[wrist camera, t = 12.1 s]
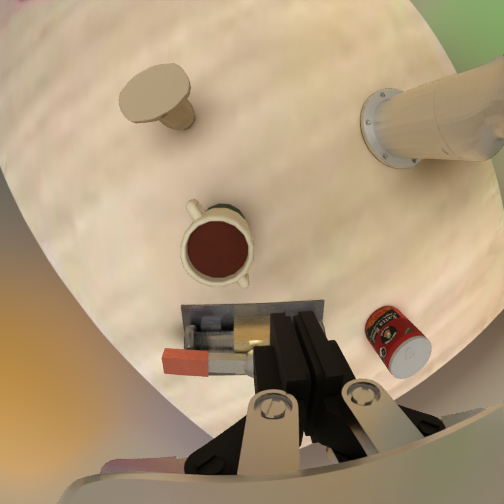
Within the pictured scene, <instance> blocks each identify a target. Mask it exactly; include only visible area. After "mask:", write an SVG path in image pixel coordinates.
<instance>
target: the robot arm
mask: <svg viewBox="0 0 504 504" xmlns="http://www.w3.org/2000/svg"><path fill="white" fill-rule="evenodd" d="M380 95H381V96H380ZM365 122H366V123H367V124H366V123H365ZM361 129H362V134H363V137H364V140H365V142H366V144H367V146H368V148H369V149H370V151H371V152H372V154H373V155H374V156H375V157H376V158H377V159H378V160H379V161H381V162H382V163H384V164H385V165H388V166H390V167H393V168H400V169H405V168H410V167H413V166H415V165H417V164H418V163H420V161H421V160H422V159H448V160H466V161H484V160H488V159H490V158H492V157H493V156H494V155H496V154H497V153H498V152H499V151H500V150H501V148H502V147H503V146H504V54H503V55H501V56H499V57H498V58H495V59H493V60H491V61H490V62H487V63H485V64H483V65H481V66H478V67H476V68H473V69H471V70H468V71H465V72H462V73H459V74H456V75H453V76H450V77H446V78H443V79H440V80H437V81H434V82H431V83H428V84H425V85H422V86H420V87H417V88H414V89H411V90H408V91H406V92H403V91H400V90H397V89H391V88H389V89H383V90H380V91H377V92H376V93H374V94H372V95H371V96H370V97H369V98H368V99H367V101H366V102H365V104H364V106H363V109H362V113H361ZM253 371H254V386H255V395H254V396H253V397H252V398H251V399H250V402H249V405H248V411H247V415H246V416H245V417H243V418H242V419H241V420H239V421H238V422H237V423H235V424H234V425H232V426H231V427H230V428H228V429H227V430H226V431H224V432H223V433H221V434H220V435H219V436H217V437H216V438H214V439H213V440H211V441H210V442H208V443H207V444H206V445H204V446H203V447H201V448H199V449H198V450H196V451H195V452H193V453H192V454H191V455H190V456H189V457H188V458H182V459H177V458H176V456H174V457H162V458H145V459H116V460H111V461H109V462H107V463H106V464H105V465H104V466H103V467H102V468H101V472H100V474H95V475H92V476H87V477H83V478H81V479H78V480H76V481H75V482H73V483H72V484H71V485H70V486H69V487H68V488H67V489H66V490H65V492H64V493H63V495H62V496H61V498H60V500H59V501H58V503H57V504H504V402H502V403H500V404H497V405H494V406H492V407H490V408H488V409H483V408H480V409H475V410H470V411H466V412H461V413H456V414H451V415H446V416H441V418H440V419H438V418H437V417H434V416H432V415H429V414H425V413H422V412H419V411H416V410H412V409H410V408H406V407H403V406H400V405H397V404H396V403H395V401H394V400H393V399H392V398H391V397H390V395H389V394H388V393H387V392H386V391H385V389H384V388H383V387H382V386H381V385H380V384H378V383H377V382H375V381H373V380H369V379H356V378H355V376H354V374H353V372H352V370H351V368H350V367H349V365H348V363H347V361H346V359H345V357H344V355H343V353H342V351H341V350H340V348H339V346H338V344H337V342H336V341H335V340H329V341H328V340H327V338H326V336H325V334H324V332H323V330H322V328H321V326H320V324H319V322H318V320H317V318H316V316H315V314H314V312H313V311H300V312H298V315H294V316H293V322H292V320H291V317H290V316H286V315H285V313H284V312H283V313H271V314H270V345H266V346H253ZM303 432H304V433H305V435H306V436H311V440H312V443H317V442H319V443H321V444H322V445H324V446H326V452H327V455H328V457H329V458H330V460H331V462H332V464H333V465H328V466H322V467H317V468H310V469H304V470H299V447H300V446H301V442H302V437H303Z"/></svg>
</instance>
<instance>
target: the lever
mask: <svg viewBox="0 0 504 504" xmlns="http://www.w3.org/2000/svg"><path fill="white" fill-rule="evenodd" d="M162 363H163V369H164V373H165V374H176V375H188V376H204V377H208V374H209V372H214V373H246V374H247V375H248V376H250V377H253V378H254V371H253V350H250V351H248V352H247V353H246V354H233V353H209V351H200V350H183V349H170V348H165V350H164V353H163V355H162Z"/></svg>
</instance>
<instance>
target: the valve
mask: <svg viewBox="0 0 504 504" xmlns="http://www.w3.org/2000/svg"><path fill="white" fill-rule="evenodd" d="M323 309H324V300H314V301H297V302H279V303H255V304H221V305H181V311H182V318H183V325H184V332H185V335H184V350H200V351H209V353H233V354H246V353H247V352H248V351H250V350H253V346H266V345H270V314H271V313H283V312H284V313H285V315H286V316H290V317H291V320H292V322H293V316H294V315H298V312H300V311H313V312H314V314H315V316H316V318H317V320H318V322H319V324H320V326H321V328H322V330H323V332H324V334H325V329H324V325H323V323H322V319H323ZM325 336H326V334H325ZM208 375H247V374H246V373H214V372H209V374H208Z"/></svg>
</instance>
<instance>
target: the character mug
mask: <svg viewBox="0 0 504 504" xmlns="http://www.w3.org/2000/svg"><path fill="white" fill-rule="evenodd" d="M186 209H187V211H188V213H189V214H190V216H191V217H192V219H193V220H194V222H193V223H192V224H191V225H190V227H189V228H188V229H187V230H186V232H185V235H184V237H183V240H182V243H181V261H182V264H183V267H184V268H185V270H186V272H187V273H188V274H189V275H190V276H191V277H192V278H193V279H195V280H196V281H197V282H199V283H202V284H205V285H208V286H227V285H230V284H233V283H236V282H237V283H238V284H239V285H240V286H241V287H242V288H243V289H244V288H247V287H248V286H249V276H248V270H249V268H250V266H251V264H252V262H253V258H254V243H253V239H252V234H251V231H250V229H249V226H248V224H247V221H246V220H245V218H244V217H243V215H242V214H241V212H240V210H238V209H237V208H235V207H233V206H232V205H228V204H218V205H215V206H212V207H210V208H209V209H208V210H207V211H204V209H203V208H202V206H201V205H200V203H199V202H198V201H197V200H195V199H191V200H190V201H188V202H187V204H186Z"/></svg>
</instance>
